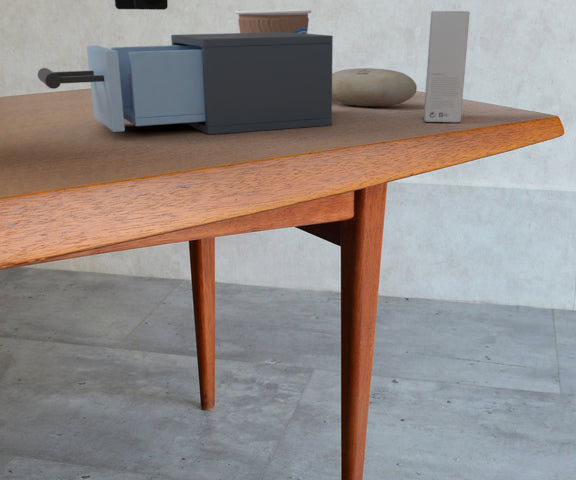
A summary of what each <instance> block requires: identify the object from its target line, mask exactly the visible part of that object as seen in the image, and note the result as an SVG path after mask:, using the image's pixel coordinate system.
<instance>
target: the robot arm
mask: <svg viewBox="0 0 576 480" xmlns="http://www.w3.org/2000/svg"><path fill="white" fill-rule="evenodd" d="M168 4H169V3H168V0H114V6H115V8H116V10H151V11H152V10H156V11H159V10H160V11H161V10H162V11H163V10H167V9H168V8H169V7H168V6H169V5H168Z"/></svg>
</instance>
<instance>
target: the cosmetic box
mask: <svg viewBox="0 0 576 480" xmlns="http://www.w3.org/2000/svg"><path fill="white" fill-rule="evenodd" d="M469 25H470V11H468V10H431V11H430V24H429V36H428V39H429V40H428V52H427V65H426V67H427V68H426V80H425V81H426V82H425V94H424V104H423V106H424V107H423V122H426V123H461V120H462V109H463V98H464V85H465V74H466V73H465V72H466V71H465V70H466V61H467V51H468V50H467V49H468V37H469Z"/></svg>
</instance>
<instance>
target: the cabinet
mask: <svg viewBox="0 0 576 480" xmlns="http://www.w3.org/2000/svg"><path fill="white" fill-rule="evenodd" d="M170 37H171V38H170V39H171V46H172V45H193V46H199V47H202V58H203V79H204V100H205V122H191V123H185V124H186V125H187V126H190V127H192V128H194V129H196V130H198V131H200V132H202V133H203V134H206V135H208V136H211V135H222V134H224V135H225V134H235V133H248V132H249V133H250V132H261V131H274V130H286V129H298V128H299V129H301V128H313V127H314V128H315V127H325V126H332V116H333V115H332V114H333V112H332V111H333V108H332V107H333V101H332V100H333V99H332V74H333V40H334V37H333V35H330V34H329V35H327V34H315V33H307V34H305V33H292V32H268V33H240V32H236V33H235V32H234V33H233V32H232V33H231V32H229V33H197V34H196V33H195V34H194V33H192V34H171V35H170Z"/></svg>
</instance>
